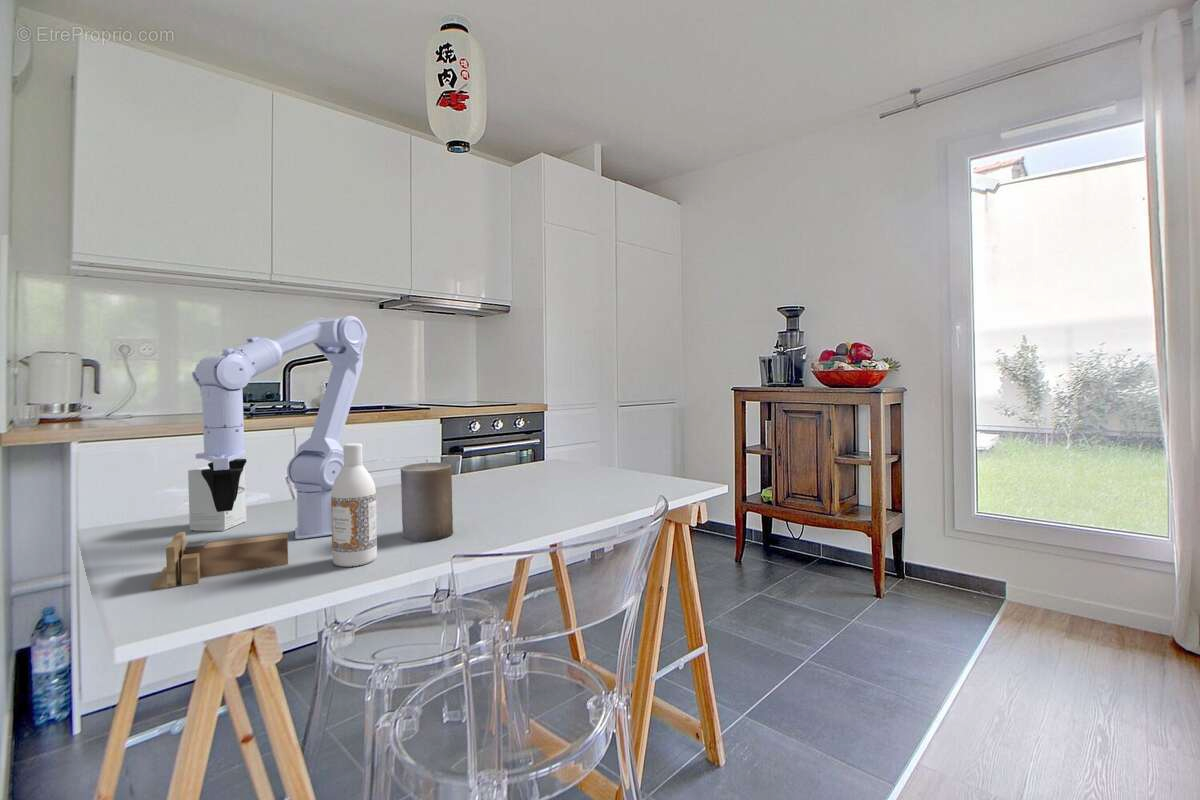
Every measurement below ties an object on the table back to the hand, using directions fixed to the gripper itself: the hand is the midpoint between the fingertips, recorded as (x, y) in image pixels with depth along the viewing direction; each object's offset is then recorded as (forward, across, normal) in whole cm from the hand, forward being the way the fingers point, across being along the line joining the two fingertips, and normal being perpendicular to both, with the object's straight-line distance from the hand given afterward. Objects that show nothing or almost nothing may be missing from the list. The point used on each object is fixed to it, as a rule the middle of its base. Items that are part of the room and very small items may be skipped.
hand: (226, 506), depth 95 cm
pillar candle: (+10, +2, +33) cm, 34 cm away
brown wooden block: (+9, +6, +2) cm, 11 cm away
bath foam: (+10, +11, +19) cm, 24 cm away
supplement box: (+10, -26, -4) cm, 28 cm away
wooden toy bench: (+9, +6, -6) cm, 12 cm away
